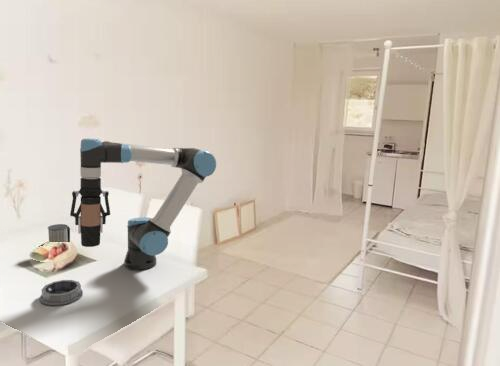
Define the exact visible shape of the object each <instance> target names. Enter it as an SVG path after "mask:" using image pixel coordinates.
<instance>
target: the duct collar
mask: <svg viewBox="0 0 500 366" xmlns="http://www.w3.org/2000/svg"><path fill="white" fill-rule="evenodd" d="M81 286H82V284H81V282H80V281H78V280H74V279H60V280H56V281H52V282H50V283H48V284H45V285H44V286H43V287H42V289H41V295H40V297H39V301H40V303H41V304H42V305H44V306H48V307H62V306H66V305H70V304H73V303H75V302H78V301H79V300H80V299H81V298H82V297H83V294H84V293H83V292H84V291H83V289H82V287H81Z"/></svg>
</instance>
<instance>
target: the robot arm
mask: <svg viewBox="0 0 500 366" xmlns="http://www.w3.org/2000/svg"><path fill="white" fill-rule="evenodd" d="M79 151H80V154H79V155H80V169H79V170H80V171H79V172H80V189H79V190H76V191H75V190H73V191H72V193H71V195H72V203H71V206H70V208H71V209H70V215H69V216H70V217H73V218H74V221H75V222H74V224H75V226H77V228H78V233H77V234H80V235H81V203H80V204H79V206H78V208H77V210H76V212H75V209H76V203H77V197H79V194H80V197H81V196H82V197H83V198H86V199H88V198H94V199H95V198H98V197H99V196H100V197H101V194H102V197H104V202H105V209H106V211H105V210H104V208H103V205H102V203H101V204H100V212H101V231H100V234H102V233H103V229H104V228H103V225H106V222H107V221H106V218H107V216H108V217H109V216H111V210H110V203H109V191H108V190H102V189H101V187H102V186H101V184H102V179H101V178H100V177H102V167H101V166H102V164H105V163H109V164H110V163H111V164H112V163H115V164H118V163H121V164H124V163H129V162H135V163H136V162H137V163H148V164H157V165H169V166H171V168H178V169H180V171H181V175H179V176H180V177H179V178H178V179H177V181H176V183H175V184H174V185H173V187H172V189H171V190H170V192H169V193H168V195H167V196H166V197H165V198H166V199H164V202H163V203H162V205H161V206H160V208H159V209H158V211H157V212H156V213H155V215H154V217H145V216H144V217H143V216H142V217H133V218H130V219H128V220H127V251H126V255H125V257H124V261H123V262H124V263H123V266H124V268H126V269H128V270H133V271H141V270H149V269H150V268H153V267H155V266H156V265H157V257H156V256H157V255H160V254H162V253H164V251H165V250H166V248H168V244H169V238H168V237H169V236H170V234H171V233H172V232H171V231H172V230H171V227H172V225H173V223H174V222H175V220H176V219H177V217H178V216H179V214H180V212H181V211H182V209H183V208H184V207H185V205H186V203H187V202H188V200H189V198H190V197H191V195H192V194H193V192H194V190H195V189H196V187H197V185H199V184H202V183H204V181H205V179H206V178H207V177H210V176H212V175H213V174H214V172H215V171H216V169H217V160H216V157H215V156H214V154H213V153H211V152H210V151H207V149H206V150H205V149H199V148H194V147H193V148H192V147H186V148H185V147H184V148H183V147H172V149H171V148H164V147H163V148H161V147H157V146H156V147H154V146H146V145H145V146H144V145H137V144H128V143H127V144H126V143H120V142H111V141H107V140H105V141H101V139H99V138H83V139H81V141H80V149H79Z"/></svg>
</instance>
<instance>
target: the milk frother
mask: <svg viewBox="0 0 500 366" xmlns="http://www.w3.org/2000/svg"><path fill="white" fill-rule="evenodd" d="M47 230H48V243H49V242H70V243H71V228H70V227H69V226H68V224H63V223H56V224H51V225H49V226H47ZM45 243H46V242H45ZM45 243H42V244H41V245H40V244H39V246H38V247H40V246H43V245H44V244H45Z"/></svg>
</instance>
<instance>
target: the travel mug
mask: <svg viewBox="0 0 500 366" xmlns="http://www.w3.org/2000/svg"><path fill="white" fill-rule="evenodd" d="M101 197H102V196H101V195H100V196H99V197H98V198H95V199H94V198H88V199H86V198H83V197H82V196H81V195H80V204H81V212H80V216H81V233H80V242H81V243H80V244H81V246H82V247H85V248H93V247H98V246H100V244H101V216H102V214H101V212H100V204H101V205H102V202H101V201H102V200H101V199H102V198H101Z"/></svg>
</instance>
